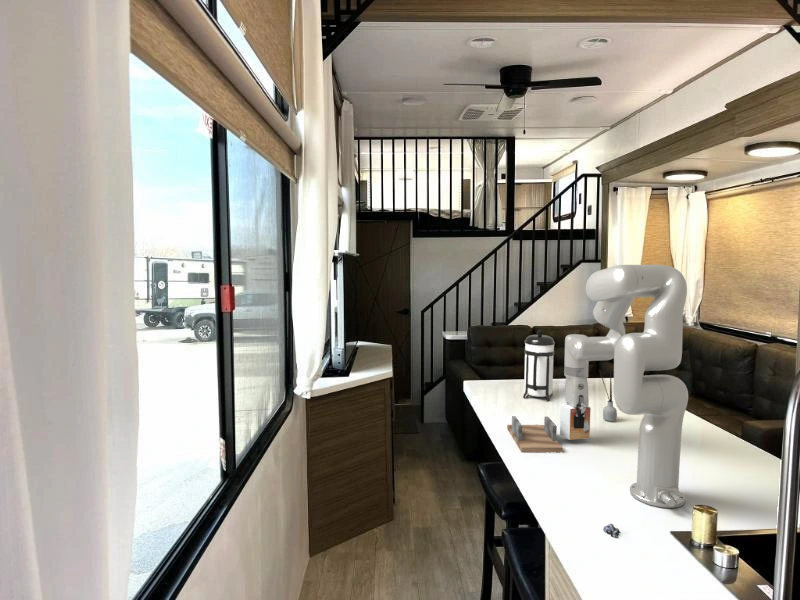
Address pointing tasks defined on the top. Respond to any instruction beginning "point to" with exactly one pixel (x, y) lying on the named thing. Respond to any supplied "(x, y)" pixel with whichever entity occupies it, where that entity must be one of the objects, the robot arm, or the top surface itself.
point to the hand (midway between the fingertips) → (575, 424)
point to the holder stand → (535, 436)
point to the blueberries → (612, 530)
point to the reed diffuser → (609, 405)
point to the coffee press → (539, 366)
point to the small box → (568, 423)
